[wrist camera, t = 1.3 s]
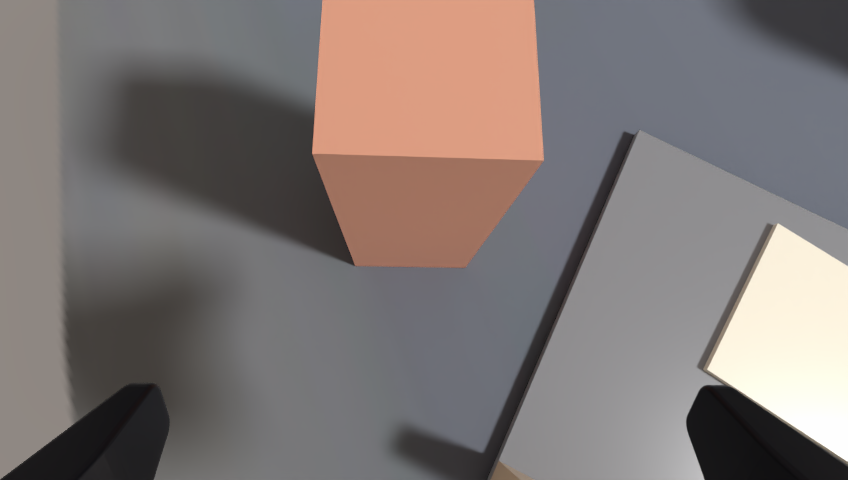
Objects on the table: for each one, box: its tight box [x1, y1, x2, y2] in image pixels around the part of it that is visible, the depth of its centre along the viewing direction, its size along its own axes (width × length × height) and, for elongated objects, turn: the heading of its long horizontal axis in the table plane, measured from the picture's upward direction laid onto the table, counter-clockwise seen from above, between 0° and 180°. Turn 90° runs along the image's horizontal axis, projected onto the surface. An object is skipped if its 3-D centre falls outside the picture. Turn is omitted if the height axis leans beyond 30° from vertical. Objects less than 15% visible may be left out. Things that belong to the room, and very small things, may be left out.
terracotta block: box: [312, 0, 544, 268], centre depth 17 cm, size 5×5×12 cm
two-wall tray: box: [487, 130, 848, 480], centre depth 20 cm, size 18×18×4 cm
